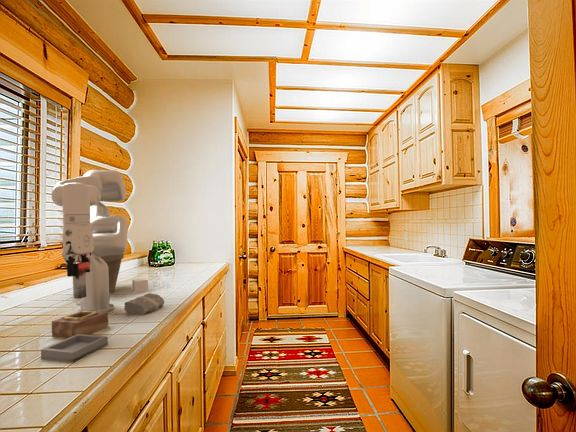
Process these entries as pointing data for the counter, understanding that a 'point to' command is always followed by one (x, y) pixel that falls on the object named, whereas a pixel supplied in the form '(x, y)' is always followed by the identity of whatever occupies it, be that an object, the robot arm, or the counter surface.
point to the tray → (74, 348)
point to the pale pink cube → (140, 285)
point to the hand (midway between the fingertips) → (79, 273)
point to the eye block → (79, 324)
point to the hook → (80, 280)
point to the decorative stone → (144, 304)
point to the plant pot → (111, 268)
